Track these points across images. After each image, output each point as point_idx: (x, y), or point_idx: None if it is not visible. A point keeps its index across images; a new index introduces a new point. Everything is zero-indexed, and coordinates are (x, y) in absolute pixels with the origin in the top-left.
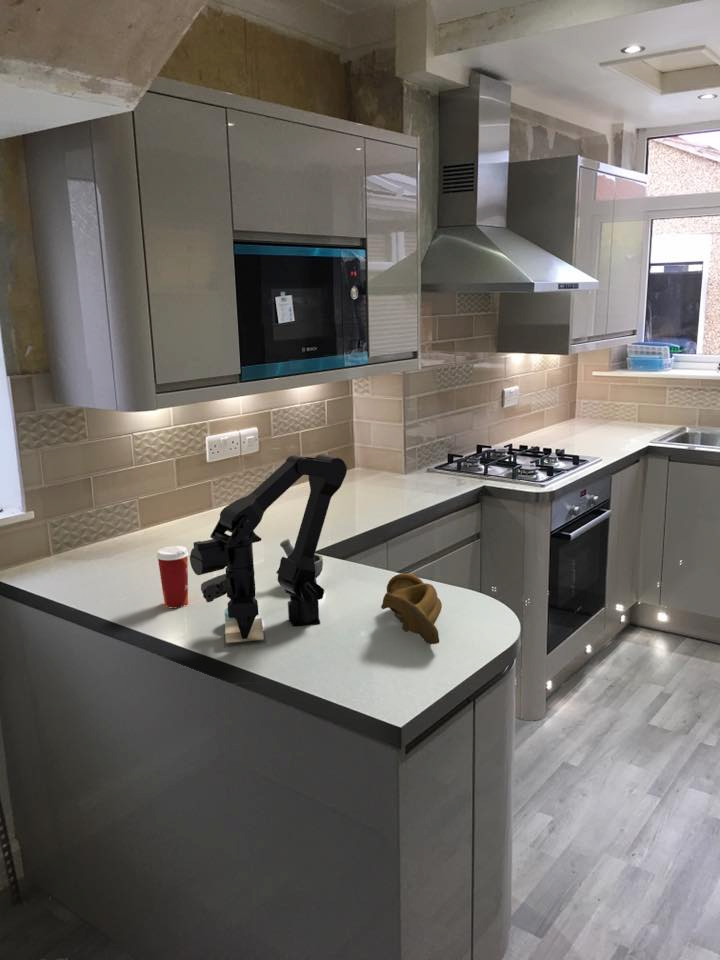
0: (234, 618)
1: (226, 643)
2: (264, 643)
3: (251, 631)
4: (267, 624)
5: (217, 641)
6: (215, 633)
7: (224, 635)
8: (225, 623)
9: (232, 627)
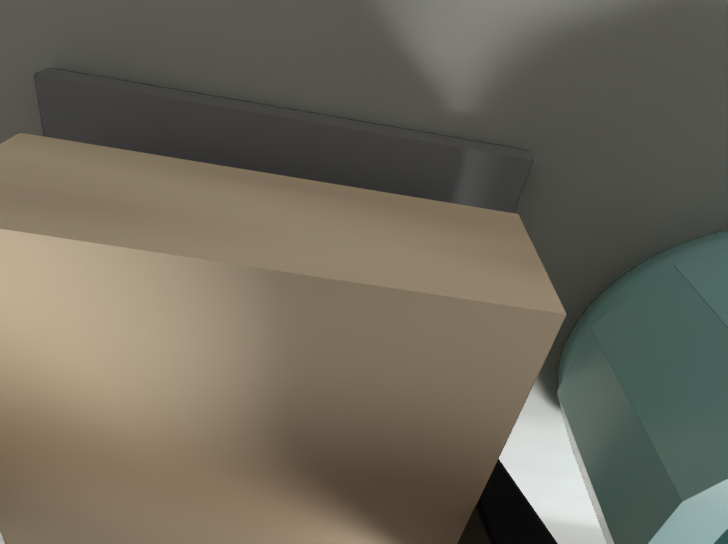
0: (661, 443)
1: (183, 135)
2: None
3: (7, 534)
4: (560, 540)
5: (375, 15)
6: (705, 39)
7: (484, 159)
8: (446, 302)
9: (189, 375)
